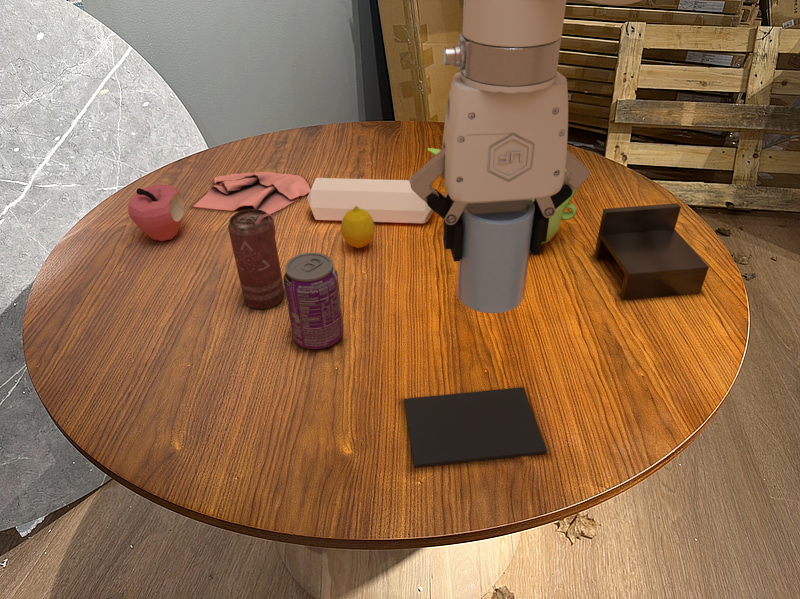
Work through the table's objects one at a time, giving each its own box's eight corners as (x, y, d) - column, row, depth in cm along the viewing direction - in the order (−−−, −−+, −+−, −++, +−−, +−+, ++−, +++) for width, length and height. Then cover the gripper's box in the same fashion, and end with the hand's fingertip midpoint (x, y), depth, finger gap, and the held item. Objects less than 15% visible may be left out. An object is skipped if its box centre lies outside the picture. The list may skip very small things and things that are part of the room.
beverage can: (316, 314, 91) (307, 244, 83) (354, 331, 87) (347, 260, 80) (282, 340, 86) (269, 269, 79) (321, 360, 83) (311, 288, 75)
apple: (173, 253, 105) (158, 200, 99) (128, 247, 106) (110, 196, 100) (200, 224, 112) (187, 174, 106) (157, 220, 114) (142, 170, 108)
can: (293, 300, 93) (280, 219, 85) (254, 315, 91) (236, 234, 82) (276, 281, 97) (262, 202, 89) (238, 295, 95) (220, 215, 86)
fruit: (344, 258, 102) (340, 216, 97) (341, 241, 106) (337, 199, 102) (377, 255, 103) (375, 213, 98) (373, 238, 107) (371, 196, 102)
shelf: (664, 250, 102) (677, 202, 96) (700, 293, 92) (717, 243, 87) (593, 256, 101) (603, 208, 96) (622, 300, 91) (635, 250, 86)
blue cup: (514, 270, 65) (524, 184, 59) (532, 310, 60) (544, 220, 54) (451, 276, 65) (454, 189, 59) (463, 316, 59) (467, 226, 53)
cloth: (327, 192, 121) (325, 181, 119) (228, 233, 109) (225, 221, 108) (270, 160, 133) (268, 150, 132) (176, 194, 122) (173, 183, 120)
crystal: (439, 183, 114) (312, 179, 117) (437, 180, 107) (302, 177, 110) (437, 223, 115) (312, 219, 118) (436, 223, 108) (302, 219, 111)
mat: (522, 390, 77) (523, 386, 77) (546, 454, 69) (547, 450, 69) (404, 401, 76) (404, 398, 76) (414, 468, 68) (414, 464, 68)
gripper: (404, 81, 45) (408, 280, 56) (636, 67, 46) (595, 265, 57) (394, 51, 51) (399, 236, 62) (599, 40, 52) (569, 224, 63)
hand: (493, 249), depth 59 cm, fingers closed on blue cup, 6 cm apart
